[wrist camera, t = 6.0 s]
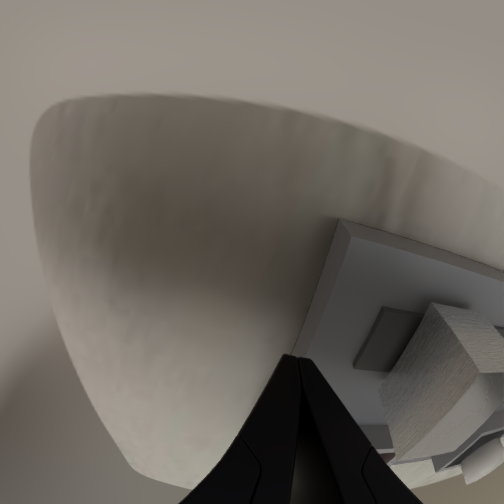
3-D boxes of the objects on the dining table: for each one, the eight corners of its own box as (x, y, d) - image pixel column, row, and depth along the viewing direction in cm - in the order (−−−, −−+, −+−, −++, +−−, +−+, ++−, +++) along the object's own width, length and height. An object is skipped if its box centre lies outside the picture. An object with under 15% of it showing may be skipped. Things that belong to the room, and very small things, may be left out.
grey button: (506, 434, 10) (514, 452, 8) (478, 460, 11) (483, 477, 9) (482, 442, 10) (490, 463, 8) (451, 468, 11) (457, 488, 10)
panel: (568, 299, 10) (592, 322, 6) (476, 431, 15) (487, 457, 12) (339, 218, 10) (365, 256, 7) (254, 437, 16) (248, 482, 12)
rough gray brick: (481, 312, 8) (527, 369, 5) (429, 391, 10) (453, 451, 6) (431, 302, 8) (480, 372, 5) (378, 389, 10) (397, 461, 6)
